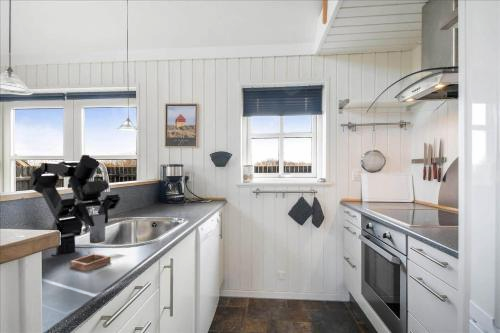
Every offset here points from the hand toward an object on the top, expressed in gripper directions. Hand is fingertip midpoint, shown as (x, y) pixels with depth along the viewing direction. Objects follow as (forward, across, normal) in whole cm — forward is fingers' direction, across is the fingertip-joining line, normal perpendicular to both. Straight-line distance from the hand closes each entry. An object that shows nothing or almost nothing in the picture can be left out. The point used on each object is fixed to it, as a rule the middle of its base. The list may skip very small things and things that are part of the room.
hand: (99, 224), depth 85 cm
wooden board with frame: (+8, +1, +11) cm, 14 cm away
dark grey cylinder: (+3, 0, +5) cm, 6 cm away
